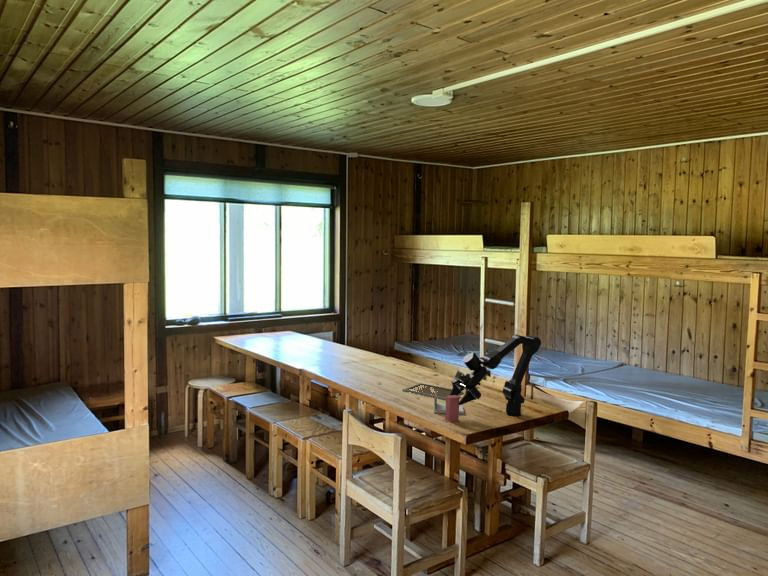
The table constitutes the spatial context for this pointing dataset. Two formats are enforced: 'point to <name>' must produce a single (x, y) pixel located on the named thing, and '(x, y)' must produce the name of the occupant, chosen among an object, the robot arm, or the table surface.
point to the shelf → (443, 406)
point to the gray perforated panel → (427, 392)
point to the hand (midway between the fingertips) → (454, 401)
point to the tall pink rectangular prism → (452, 408)
